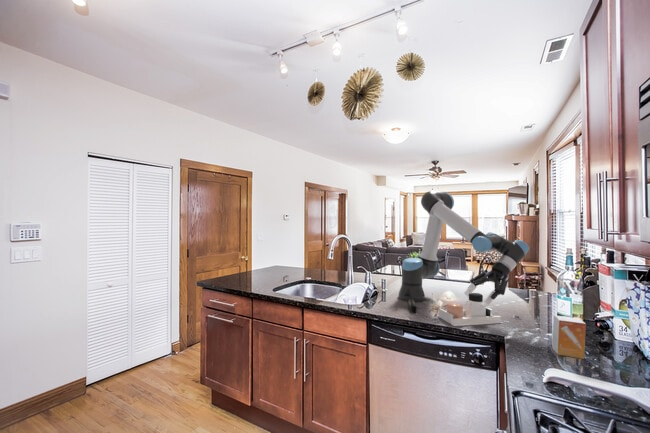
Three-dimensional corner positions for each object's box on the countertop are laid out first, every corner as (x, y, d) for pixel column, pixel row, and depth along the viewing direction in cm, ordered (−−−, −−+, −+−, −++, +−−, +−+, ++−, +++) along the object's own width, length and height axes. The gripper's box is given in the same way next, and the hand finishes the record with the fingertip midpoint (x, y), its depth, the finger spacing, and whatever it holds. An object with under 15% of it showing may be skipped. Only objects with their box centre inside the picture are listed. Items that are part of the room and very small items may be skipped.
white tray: (436, 317, 149) (436, 307, 149) (481, 314, 155) (481, 304, 155) (454, 328, 136) (454, 317, 135) (502, 324, 141) (503, 314, 141)
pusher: (477, 314, 151) (477, 304, 151) (484, 313, 152) (485, 303, 152) (490, 320, 143) (490, 309, 143) (497, 319, 144) (498, 309, 144)
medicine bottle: (485, 321, 142) (486, 295, 142) (469, 320, 143) (470, 295, 143) (480, 316, 149) (480, 291, 149) (464, 315, 150) (465, 291, 150)
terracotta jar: (443, 317, 146) (443, 303, 146) (456, 316, 148) (456, 302, 148) (452, 322, 139) (452, 307, 139) (465, 322, 141) (466, 307, 141)
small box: (557, 355, 112) (558, 319, 111) (551, 348, 118) (553, 314, 117) (584, 359, 109) (586, 323, 108) (577, 352, 115) (579, 317, 114)
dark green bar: (417, 306, 152) (412, 297, 166) (411, 305, 152) (406, 296, 167) (417, 316, 152) (412, 306, 167) (410, 315, 152) (406, 305, 167)
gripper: (530, 277, 136) (500, 312, 133) (489, 267, 160) (463, 296, 158) (520, 266, 135) (490, 301, 132) (480, 257, 159) (454, 286, 156)
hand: (475, 298), depth 145 cm, fingers open, 13 cm apart
